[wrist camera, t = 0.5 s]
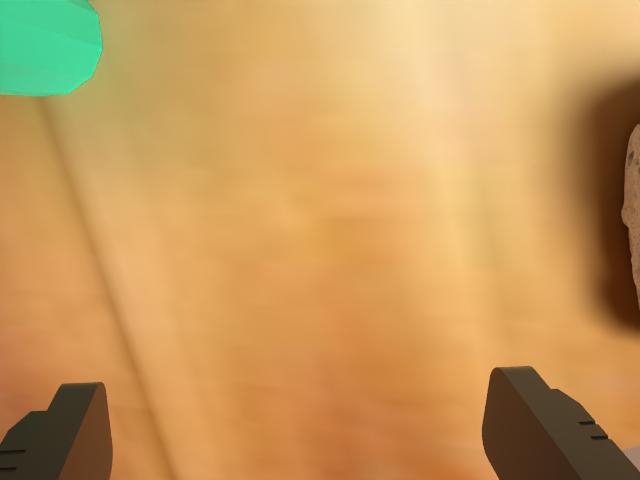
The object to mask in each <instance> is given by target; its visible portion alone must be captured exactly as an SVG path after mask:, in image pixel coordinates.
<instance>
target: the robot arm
mask: <svg viewBox="0 0 640 480" xmlns="http://www.w3.org/2000/svg"><path fill="white" fill-rule="evenodd" d="M482 440H483V446H484V450H485V453H486V456H487V458H488V460H489V462H490V463H491V465H492V467H493V469H494V471H495V472H496V474H497V476H498V478H499V480H640V472H639V470H638V469H637V468H636V467H635V466H634V465H633V464H632V462H631V461H630V460H629V459H628V458H627V457H626V456H625V454H624V453H623V452H622V451H621V450H620V449H619V448H618V446H617V445H616V444H615V443H614V442H613V441H612V440H611V439H608V435H607V434H606V433H605V432H604V430H603V429H602V428H601V427H600V426H599V425H596V424H595V420H594V419H593V418H592V417H591V416H590V414H589V413H588V412H587V411H586V410H585V409H584V408H583V406H582V405H581V404H580V403H578V402H577V401H575V400H574V399H572V398H571V397H569V396H568V395H566V394H565V393H563V392H562V391H560V390H558V389H550V388H549V386H548V385H547V384H546V383H545V382H544V380H543V379H542V378H541V377H540V376H539V374H538V373H537V372H536V371H535V370H534V369H533V368H532V367H530V366H521V367H497V368H494V369H493V370H492V372H491V375H490V381H489V387H488V393H487V400H486V406H485V412H484V418H483V425H482ZM112 457H113V449H112V438H111V430H110V421H109V413H108V405H107V396H106V389H105V386H104V384H103V383H102V382H94V383H69V384H62V385H61V386H60V387H59V389H58V391H57V393H56V394H55V396H54V398H53V400H52V402H51V404H50V406H49V408H48V410H47V411H31V412H30V413H29V414H27V415H26V416H25V417H24V418H23V419H21V420H20V421H19V422H18V423H17V424H15V425H14V426H13V427H12V428H11V429H9V431H8V432H7V434H6V436H5V437H4V439H3V441H2V442H1V444H0V480H109V479H110V474H111V468H112Z"/></svg>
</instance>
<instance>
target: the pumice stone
mask: <svg viewBox="0 0 640 480" xmlns="http://www.w3.org/2000/svg"><path fill="white" fill-rule="evenodd" d="M624 199H625V201H624V205H623V208H622V211H621V215H622V220H623V222H624V224H625V225H626V226H628V228H629V232H628V233H629V240H630V251H631V254H632V258H631V262H632V273H633V278H634V283H635V285H636V289H637V296H638V302H639V308H640V124H638V125H637V126H636V127H635V128H634V130H633V132H632V134H631V136H630V139H629V143H628V150H627V157H626V164H625V184H624Z"/></svg>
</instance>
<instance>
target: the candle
mask: <svg viewBox="0 0 640 480" xmlns="http://www.w3.org/2000/svg"><path fill="white" fill-rule="evenodd" d="M102 50H103V43H102V36H101V30H100V23H99V16H98V14H97V13H96V11H95V10H94V9H93V7H92V6H91V4H90V3H89V2H88V0H0V94H2V95H20V96H51V95H65V94H69V93H71V92H72V91H73V90H75V89H76V88H78V87H79V86H80V85H82V84H83V83H84V82H86V81H87V80H88V79H90V78H91V77H92V76H93V73H94V71H95V68H96V65H97V63H98V60H99V58H100V55H101V52H102Z"/></svg>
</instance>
